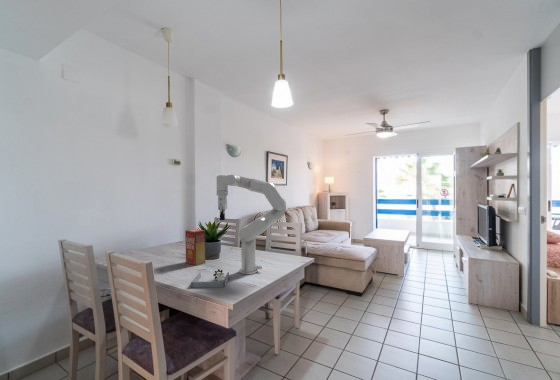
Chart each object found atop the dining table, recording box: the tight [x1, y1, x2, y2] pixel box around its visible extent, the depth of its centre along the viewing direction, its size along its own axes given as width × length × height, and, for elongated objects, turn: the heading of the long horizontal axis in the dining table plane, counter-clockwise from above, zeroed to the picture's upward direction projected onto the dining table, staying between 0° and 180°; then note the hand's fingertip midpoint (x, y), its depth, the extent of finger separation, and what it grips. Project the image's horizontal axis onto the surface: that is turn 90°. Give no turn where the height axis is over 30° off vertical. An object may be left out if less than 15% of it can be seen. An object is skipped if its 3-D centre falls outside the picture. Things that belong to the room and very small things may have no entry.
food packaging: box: [184, 228, 206, 267], centre depth 196 cm, size 13×9×25 cm
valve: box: [213, 268, 225, 281], centre depth 156 cm, size 7×7×12 cm
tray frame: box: [190, 271, 230, 289], centre depth 157 cm, size 19×17×3 cm
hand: (222, 219), depth 177 cm, fingers closed
